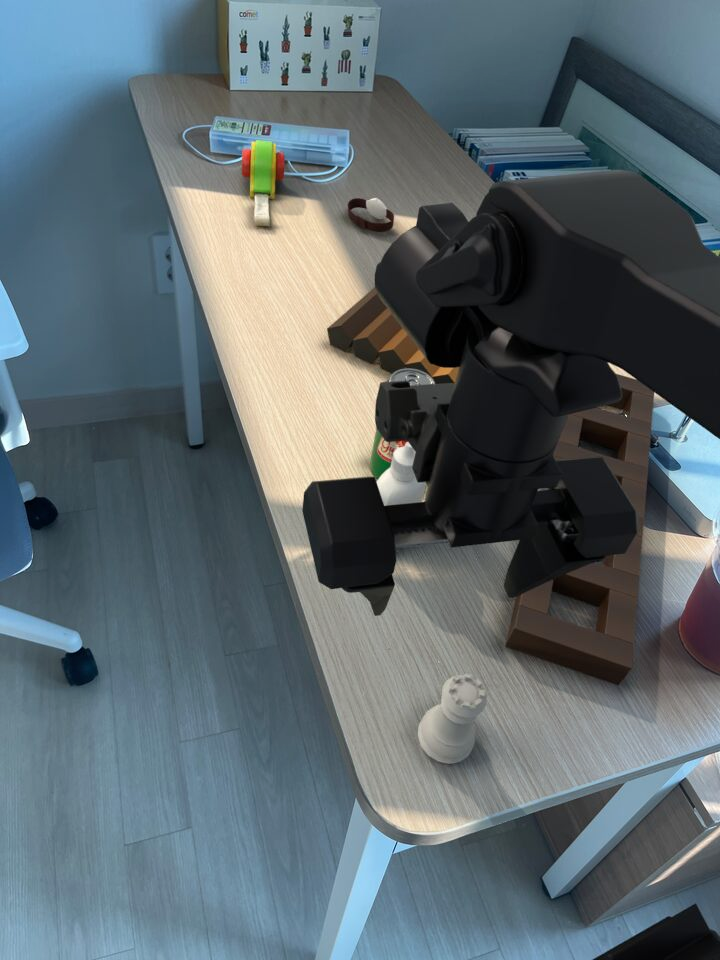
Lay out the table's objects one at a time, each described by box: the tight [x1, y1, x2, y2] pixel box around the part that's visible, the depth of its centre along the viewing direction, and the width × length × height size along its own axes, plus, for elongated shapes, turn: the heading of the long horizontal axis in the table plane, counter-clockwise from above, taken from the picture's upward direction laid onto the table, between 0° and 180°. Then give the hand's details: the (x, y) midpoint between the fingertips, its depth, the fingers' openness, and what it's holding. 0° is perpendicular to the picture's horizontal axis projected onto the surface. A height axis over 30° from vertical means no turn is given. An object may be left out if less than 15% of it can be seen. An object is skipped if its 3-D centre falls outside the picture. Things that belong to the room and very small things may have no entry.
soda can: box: [369, 368, 435, 481], centre depth 74 cm, size 5×5×12 cm
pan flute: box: [326, 286, 459, 384], centre depth 95 cm, size 25×3×25 cm
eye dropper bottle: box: [376, 442, 427, 506], centre depth 68 cm, size 4×6×12 cm
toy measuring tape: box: [241, 139, 286, 227], centre depth 113 cm, size 6×20×7 cm, turn 4°
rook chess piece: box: [417, 673, 488, 765], centre depth 56 cm, size 4×4×8 cm
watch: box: [347, 197, 395, 233], centre depth 112 cm, size 8×5×4 cm, turn 56°
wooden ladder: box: [505, 373, 655, 686], centre depth 77 cm, size 40×10×3 cm, turn 162°
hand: (443, 600), depth 49 cm, fingers open, 9 cm apart
